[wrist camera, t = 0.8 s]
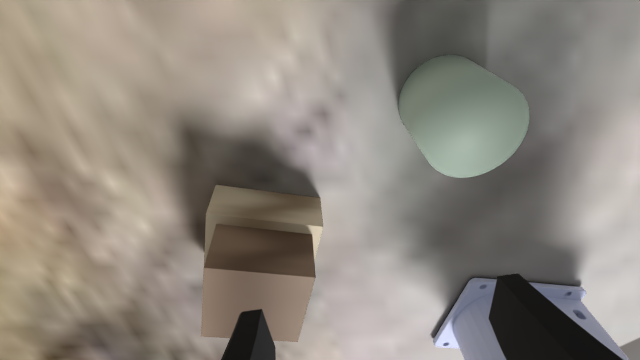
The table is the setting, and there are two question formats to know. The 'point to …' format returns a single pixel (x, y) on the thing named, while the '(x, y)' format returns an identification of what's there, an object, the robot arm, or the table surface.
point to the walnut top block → (257, 280)
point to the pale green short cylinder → (462, 116)
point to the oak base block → (263, 212)
